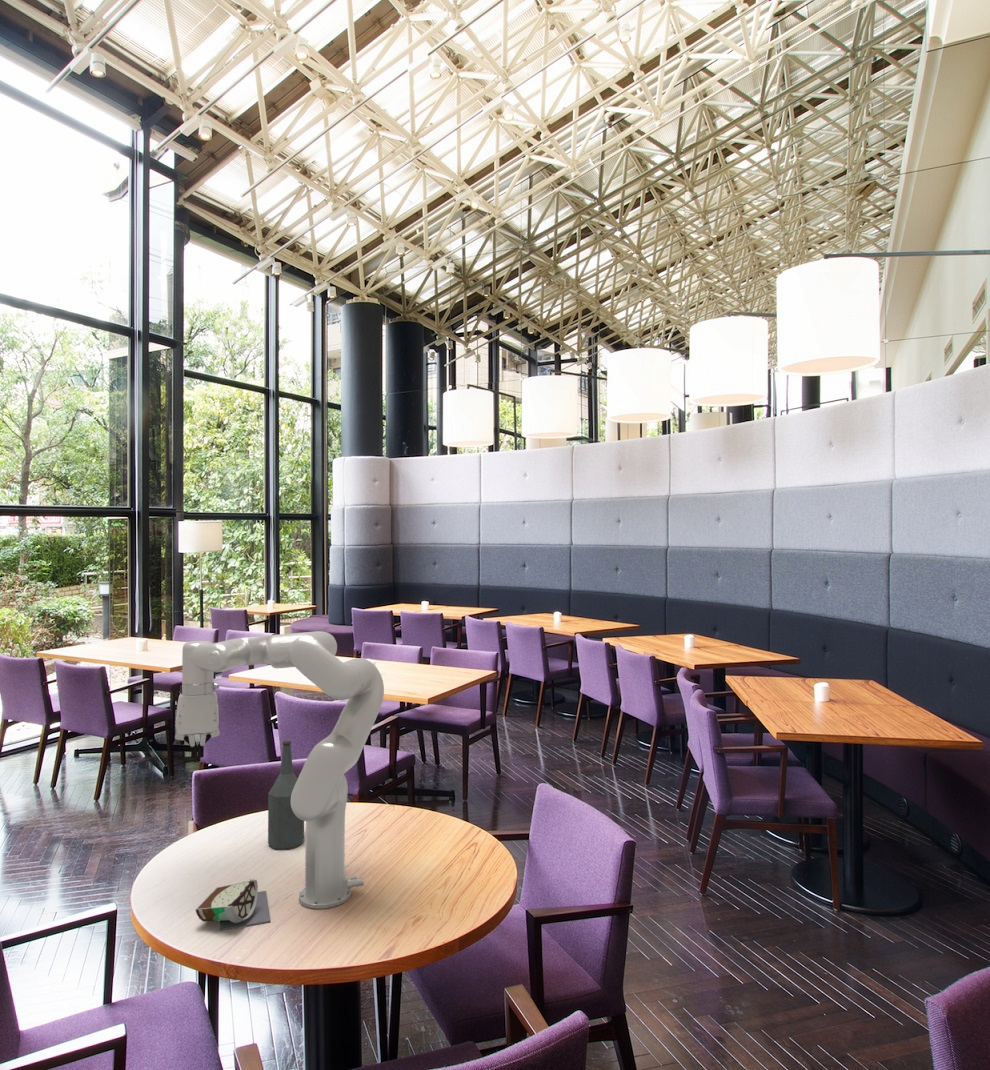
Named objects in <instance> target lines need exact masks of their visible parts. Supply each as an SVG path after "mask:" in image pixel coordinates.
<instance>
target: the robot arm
mask: <svg viewBox="0 0 990 1070" xmlns="http://www.w3.org/2000/svg"><path fill="white" fill-rule="evenodd" d="M337 651H338V643H337V641H336V639H335V637H334V635H332V634H331V633H329V632H327V631H323V630H317V631H315V630H314V631H306V632H294V633H293V632H292V633H282V634H279V633H278V634H271V635H259V636H247V637H237V638H231V639H227V640H224V641H219V642H214V643H213V642H212V641H210V640H192V641H187V642H185V643H184V644H183V645H182V660H181V662H182V664H181V665H182V667H181V670H182V671H181V672H182V673H181V675H182V676H181V677H182V678H181V680H182V681H181V684H182V685H181V694H179V696H178V700H177V705H176V718H175V719H176V720H175V722H176V723H175V727H176V728H175V729H176V730H175V736H174V739H175V740H178V741H184V742H186V743H187V745H189V746H190V759H193V763H197V762H199V763H201V761H202V758H204V757H205V753H204V749H205V745H206V744H207V742H209V740H210V739H212V738H216V737H219V736H220V734H221V732H220V728H219V726H220V725H219V724H220V721H219V720H220V717H219V716H220V714H219V699H218V695H217V692H216V690H219V689H220V682H219V683H218V682H214V674H215V673H222V672H223V673H224V672H226V671H230V670H234V669H236V668H239V667H240V668H241V667H245V666H255V665H270V666H271V668H273V669H285V668H286V669H287V668H295V669H297V670H298V671H299V672H300V673H301V674H302V675H303V676H305V677H306V679H308V680H309V681H310V682H311V683H312V684H314V685H315V686H316V687H317V688H318V689H320V690H321V691H322V692H323V693H325V694H326V695H327V696H329V697H331V698H332V699H333V700H338V701H346V700H347V702H346V704H345V705H344V707H343V709H342V711H341V713H340V715H339V717H338V719H337V722H336V724H335V726H334V728H333V730H332V731H331V732H330V734H329V735H328V736H327V737H324V739H322V740H320V741H319V742H318V743H316V745H314V747H313V748H312V750H311V751H310V753H309V754H308V756H307V757H306V760H305V763H304V764H303V767H302V769H301V772H300V773H299V775H298V777H297V779H298V780H297V782H296V784H295V786H294V789H293V791H292V794H291V808H292V810H293V812H294V814H295V815H296V816H297V817H298V818H299V819H301V820H303V821H304V822H305V856H304V858H305V864H304V866H305V868H304V869H305V871H304V872H305V873H304V875H305V876H304V877H305V883H304V885H305V887H303V888H302V889H301V891H299V893H298V902H299V903H300V904H301V905H302V906H304V907H305V908H309V909H316V910H317V909H319V910H320V909H329V908H334V907H336V906H339V905H342V904H344V903H345V902H347V901H348V900H349V898H350V897H351V895H352V894H351V893H352V892H351V891H352V888H355V887H356V888H357V887H363V886H364V884H365V881H364V877H358V876H357V875H351V876H348V875H346V873H345V847H346V846H345V844H346V843H345V834H346V833H345V832H346V831H345V830H346V828H345V827H346V809H347V801H348V791H349V790H348V789H349V788H348V781H347V778H346V775H345V774H346V772H348V771H349V770H350V769H351V768H353V767H354V766H355V764H357V762H358V761H359V759H360V757H361V754H362V751H363V749H364V747H365V745H366V743H367V741H368V737H369V735H370V733H371V732H372V729H373V727H374V724H375V722H376V719H377V717H378V715H379V712H380V710H381V708H382V704H383V700H384V694H385V687H384V686H385V685H384V680H383V678H382V674H381V673H380V671H379V669H378V667H377V666H376V665H375V664H374V663H373V662H372V661H370V660H368V659H366V658H361V657H360V658H358V657H357V658H351V659H349V660H346V661H345V662H343V661H342V660H340V659H339V658H337V656H336V654H337ZM195 735H200V740H199V741H198V744H197V741H196V738H195Z"/></svg>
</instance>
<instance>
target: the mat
mask: <svg viewBox="0 0 990 1070" xmlns="http://www.w3.org/2000/svg"><path fill="white" fill-rule="evenodd" d="M268 901H269V900H268V895H267V890H263V891H262V890H261V891H258V896H257V902H256V906H255V909H254V911H253V913H252V914H251V916H250V917H249V918H247V919H246V920H244V921H241V922H239V923H233V922H231V921H230V920H228V921H219V932H223V931H231V930H235V929H240V928H246V927H251V926H258V925H259V926H260V925H264V924H269V923H271V915H270V909H269V908H270V907H269V902H268Z"/></svg>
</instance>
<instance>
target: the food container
mask: <svg viewBox="0 0 990 1070" xmlns="http://www.w3.org/2000/svg"><path fill="white" fill-rule="evenodd" d="M258 889H259V888H258V880H257V879H253V878H252V879H249V880H247V881H243V882H238V883H232V884H231V883H230V884H227V885H222V886H217V887H216V888H215V889H213V890H212V892H211V893H210V894H209V895H208V896H207V897H206V898H204V900H203V901H202V902H201V903H200V904H199V905H198V906H197V907H196V908H195V913H196V915H197V917H198V919H199V920H201V921H202V922H220V921H228V920H230V921H231V922H233V923H239V922H241V921H244V920H246V919H247V918H249V917H250V916H251V914H252V913H253V911H254V909H255V906H256V902H257V896H258V892H259V890H258Z"/></svg>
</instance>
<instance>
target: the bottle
mask: <svg viewBox="0 0 990 1070" xmlns="http://www.w3.org/2000/svg"><path fill="white" fill-rule="evenodd" d="M291 743H292V741H291V740H283V742H282V743H281V744H282V753H281V759H280V760H281V762H280V770H279V771H280V772H279V774H278V776H277V778H276V779H275V782H274V783H273V785H272V787H271V788H270V790H269V792H268V793H267V795H268V796H267V800H268V802H267V809H268V811H267V812H268V815H267V817H268V819H267V820H268V821H267V834H268V835H267V844H268V846H269V847H270V848H272V849H273V850H276V851H277V850H278V851H282V850H283V851H284V850H291V849H295V848H297V846H298V847H299V845H300V846H301V845H302V843H303V841H304V839H305V821H303V820H301V819H299V818H298V817H297V816H296V815H295V814H294V812H293V810H292V808H291V794H292V791H293V789H294V786H295V784H296V782H297V780H298V777H297V775H296V773H294V767H293V759H292V757H293V756H292V747H291Z"/></svg>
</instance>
